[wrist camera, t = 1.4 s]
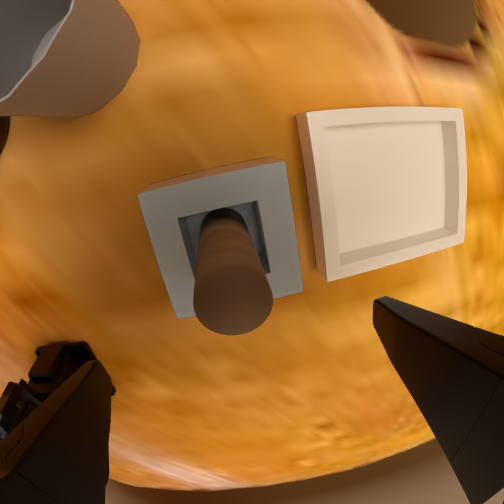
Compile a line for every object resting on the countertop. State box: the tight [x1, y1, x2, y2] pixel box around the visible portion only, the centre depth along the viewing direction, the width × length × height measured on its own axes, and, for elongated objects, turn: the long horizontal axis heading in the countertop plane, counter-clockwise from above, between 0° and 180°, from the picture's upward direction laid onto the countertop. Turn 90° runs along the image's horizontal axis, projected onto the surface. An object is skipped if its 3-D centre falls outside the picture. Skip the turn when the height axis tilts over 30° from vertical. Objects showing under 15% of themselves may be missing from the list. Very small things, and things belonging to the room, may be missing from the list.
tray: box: [296, 107, 467, 282], centre depth 19 cm, size 11×13×2 cm
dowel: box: [193, 208, 273, 335], centre depth 15 cm, size 3×3×9 cm
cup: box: [0, 0, 140, 118], centre depth 9 cm, size 8×8×10 cm
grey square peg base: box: [137, 157, 303, 319], centre depth 18 cm, size 8×8×4 cm
